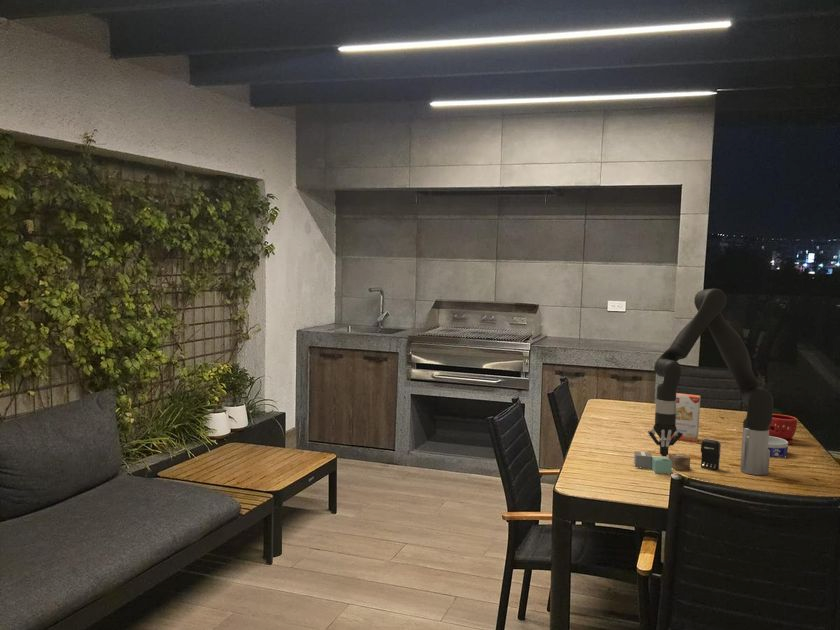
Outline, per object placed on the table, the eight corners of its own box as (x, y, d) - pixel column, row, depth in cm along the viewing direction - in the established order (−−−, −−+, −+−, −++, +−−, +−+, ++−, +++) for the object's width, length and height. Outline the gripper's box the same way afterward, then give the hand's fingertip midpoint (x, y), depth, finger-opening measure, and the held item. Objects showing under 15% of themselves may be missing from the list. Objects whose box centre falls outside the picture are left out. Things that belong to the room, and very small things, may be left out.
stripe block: (649, 465, 280) (650, 452, 280) (651, 469, 275) (651, 456, 274) (633, 463, 282) (634, 451, 281) (635, 468, 276) (635, 455, 275)
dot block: (682, 466, 280) (683, 453, 280) (689, 470, 274) (690, 457, 274) (668, 466, 280) (668, 453, 279) (674, 470, 274) (675, 457, 274)
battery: (698, 467, 278) (700, 439, 277) (701, 465, 281) (703, 437, 280) (716, 471, 274) (718, 442, 273) (720, 469, 277) (721, 440, 276)
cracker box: (664, 438, 325) (666, 393, 323) (666, 435, 330) (668, 391, 328) (696, 442, 318) (699, 397, 316) (698, 440, 323) (700, 395, 322)
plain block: (666, 469, 274) (667, 457, 274) (671, 474, 268) (671, 461, 268) (651, 469, 275) (651, 456, 275) (654, 473, 269) (655, 460, 269)
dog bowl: (765, 459, 295) (766, 444, 294) (739, 449, 309) (740, 435, 309) (795, 457, 299) (796, 443, 298) (768, 447, 313) (769, 434, 313)
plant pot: (799, 446, 316) (801, 420, 315) (768, 444, 319) (769, 418, 318) (790, 439, 329) (792, 414, 328) (760, 437, 332) (761, 412, 331)
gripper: (680, 409, 273) (678, 453, 274) (645, 408, 274) (643, 452, 275) (686, 413, 266) (684, 459, 267) (650, 412, 266) (648, 457, 268)
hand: (663, 455), depth 271 cm, fingers closed
